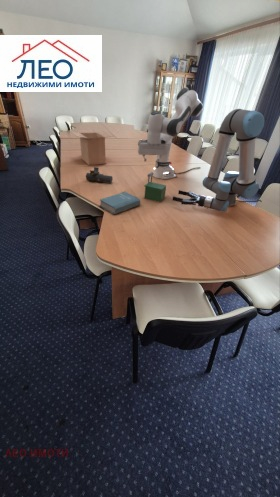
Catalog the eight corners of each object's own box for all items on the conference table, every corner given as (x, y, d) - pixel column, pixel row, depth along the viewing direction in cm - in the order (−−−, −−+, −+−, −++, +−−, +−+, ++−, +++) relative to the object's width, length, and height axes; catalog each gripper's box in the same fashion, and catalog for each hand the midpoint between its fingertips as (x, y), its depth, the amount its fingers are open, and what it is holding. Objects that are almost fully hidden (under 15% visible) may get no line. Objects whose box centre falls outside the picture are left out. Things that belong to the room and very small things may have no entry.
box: (116, 165, 229) (116, 136, 213) (83, 168, 214) (80, 137, 198) (102, 154, 259) (101, 128, 243) (71, 156, 244) (68, 129, 228)
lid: (144, 186, 162) (145, 174, 157) (149, 182, 169) (150, 170, 164) (161, 190, 158) (163, 178, 152) (166, 186, 165) (167, 174, 159)
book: (125, 198, 165) (125, 191, 162) (140, 205, 156) (140, 199, 153) (100, 206, 151) (99, 199, 149) (115, 215, 143) (115, 207, 140)
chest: (144, 198, 167) (145, 186, 162) (149, 194, 174) (150, 182, 169) (160, 202, 163) (161, 190, 158) (164, 197, 170) (166, 186, 165)
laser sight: (109, 185, 184) (109, 173, 178) (84, 181, 187) (83, 169, 181) (113, 181, 192) (113, 169, 186) (88, 177, 195) (87, 166, 189)
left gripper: (138, 140, 143) (137, 162, 151) (169, 141, 146) (166, 163, 154) (137, 138, 148) (136, 159, 156) (167, 139, 151) (164, 160, 159)
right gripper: (199, 213, 146) (169, 206, 152) (207, 200, 164) (179, 194, 171) (202, 203, 141) (171, 196, 148) (209, 190, 160) (181, 184, 166)
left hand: (151, 161), depth 155 cm, fingers open, 8 cm apart
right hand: (175, 195), depth 159 cm, fingers open, 13 cm apart
